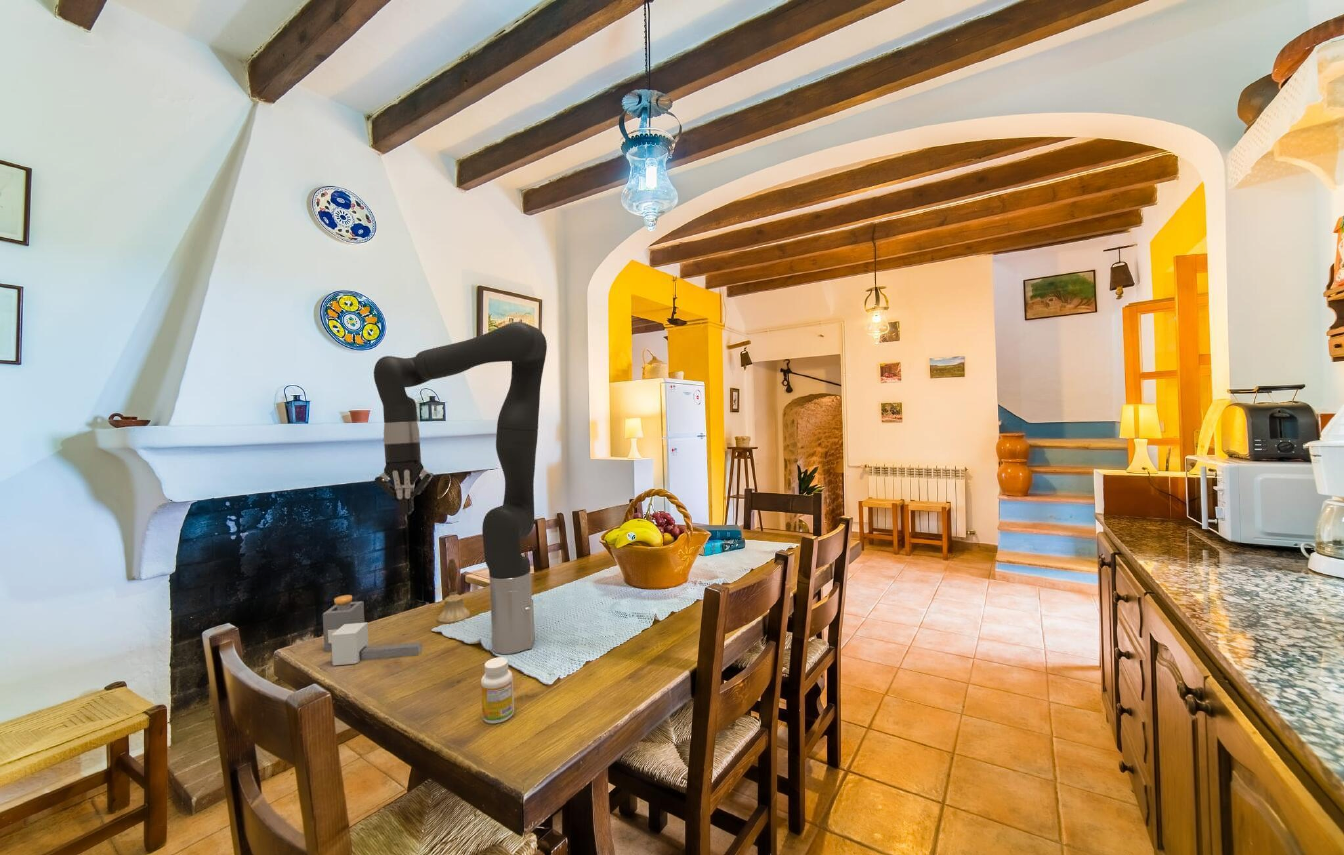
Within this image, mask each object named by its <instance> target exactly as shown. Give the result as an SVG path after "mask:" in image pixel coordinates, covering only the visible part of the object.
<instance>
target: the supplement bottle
mask: <svg viewBox="0 0 1344 855" xmlns="http://www.w3.org/2000/svg"><path fill="white" fill-rule="evenodd" d="M480 688H481V710H482V711H481V712H482V713H481V714H482V720H483V721H484V723H485V722H486V723H488V724H499V723H503V722H506V721H507V720H509V719H511V717H512V716H514V712H515V702H514V701H515V699H514V678H513V673H512V671H511V670H510V669H509V660H508V658H506V657H501V656H500V657H499V656H498V657H494V658H493V657H492V658H491V659H488V660H487V661H485V663H484V675H482V677H481V680H480Z"/></svg>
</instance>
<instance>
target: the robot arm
mask: <svg viewBox="0 0 1344 855" xmlns="http://www.w3.org/2000/svg"><path fill="white" fill-rule="evenodd" d="M547 344H548V343H547V339H546V336H545V335H544V333H543V332H542V331H541V329H539V328H537V327H535V326H533V325H531V324H528V323H526V322H522V321H513V322H510V323H507V324H505V325H502V326H500V327H497V328H495V329H493V330H490V331H488V332H486V333H483V334H481V335H477V336H475V337H473V338H470V339H466V340H461V341H459V342H454V343H451V344H450V343H449V344H446V345H441V346H437V347H433V348H429V349H424V350H421V351H419V352H418V353H417V354H416V355H415V356H412V357H408V358H407V357H406V358H405V357H399V356H394V355H393V356H392V355H385V356H383V357H381V358H379V359H378V360H377V361H376V362H375V365H374V368H373V379H374V380H373V381H374V383H375V386H376V389H377V392H378V395H379V399H380V402H381V404H382V407H383V408H382V410H383V441H382V442H383V443H384V444H383V447H384V460H385V461H384V462H385V465H384V468H383V472H382V473H381V474H380V475H378V476H376V477H375V478H374V481H375V483H376V484H377V485H378V486H379V487H380V488H381V489H382V490H383V491H384V492H385V493H386V494H387V495H388V496H389V497H390V498H395V499H397V500H398V511H399V513H401V515H402V516H405V515H407V516H408V515H411V514H412V513H413V511H414V509H415V505H414V504H415V503H414V498H415V497H416V496H417V495H421V494H422V492H423V491H424V490H425V488H426V486H427V485H428V484H429V483H430V482H431V480H432V479H433V478H434V473H433V472H428V471H427V470H426V469H425V468H424V465H423V463H422V456H421V454H422V452H421V442H420V441H421V440H420V438H421V437H420V428H419V424H418V413H417V412H418V411H417V403H416V400H415V399H414V398H412V397H410V396H408V394H407V391H406V388H411V387H416V386H419V385H420V386H421V385H422V384H424V383H427V382H430V381H431V380H432V381H433V380H438V379H442V378H446V377H451V376H455V375H458V374H461V373H463V372H466V371H468V370H470V369H473V368H474V367H477V366H480V365H485V364H491V363H501V362H502V363H503V362H511V372H510V373H511V378H510V385H509V388H508V391H507V394H506V396H505V399H504V401H503V403H502V406H501V408H500V411H499V414H498V417H497V422H496V423H497V425H496V434H495V435H496V436H495V450H496V454H497V459H498V460H499V463H500V467H501V470H502V472H503V476H504V494H503V495H504V496H503V503H502V505H500V506H496V507H494V508H491V509H490V510H489V511H488V512H487V513H486V514H485V516H484V519H483V521H482V528H481V529H482V530H481V531H482V532H481V533H482V534H481V535H482V543H483V552H484V553H483V554H484V562H485V564H486V567H487V568H488V574H489V576H488V577H489V596H490V598H489V600H490V620H491V622H490V623H491V624H490V625H491V644H492V645H491V646H492V648H491V649H492V651H493V652H495V653H497V654H501V655H502V654H503V655H510V654H516V653H520V651H521V652H522V651H526V650H532V649H533V645H534V641H535V638H536V636H535V635H536V634H535V633H536V632H535V613H534V612H535V610H534V600H533V599H532V597H533V596H532V575H531V561H530V559H529V558H528V557H527V556H524V555H522V549H521V548H522V547H521V541H522V540H524V539H526V538H527V537H528V536H529V535H530V534H531V533H532V530H533V528H534V524H535V494H534V491H535V490H534V487H535V486H534V484H535V483H534V482H535V480H534V479H535V473H536V472H535V470H536V456H537V455H536V454H537V446H538V437H539V436H538V434H539V413H540V405H541V404H540V402H541V401H540V400H541V399H540V398H541V385H542V378H543V373H544V368H545V367H544V366H545V362H546V356H547V352H548V350H547V349H548V348H547V347H548V345H547ZM419 477H420V479H421V480H420V481H419V483H418V484H417V485H416V484H415V483H416V481H418V479H419ZM389 480H390V481H391V482H392V483H393V484H394V486H393V484H391V483H390V482H389ZM415 485H416V487H415ZM531 648H532V649H531Z"/></svg>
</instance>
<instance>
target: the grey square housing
mask: <svg viewBox="0 0 1344 855" xmlns="http://www.w3.org/2000/svg"><path fill="white" fill-rule="evenodd" d="M364 604H365V603H364V601H363V600H361V601H351V602H350V606H351V608H350V609H349V610H338V611H337V604H334V605H333V606H331V607H330V608H329V609H328V610H326V611H325V612H323V613H322V625H323V628H322V629H323V643H324V644H323V645H324V647H323V648H324V653H326V652H332V642H331V635H332V634H333V633H334V632H336V631H337V630H338V629H339V628H341V627H342V626H343V625H344V624H354V623H366V622H365V605H364Z"/></svg>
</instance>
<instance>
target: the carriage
mask: <svg viewBox="0 0 1344 855" xmlns="http://www.w3.org/2000/svg"><path fill="white" fill-rule="evenodd" d="M368 623H369V622H367V621H366V622H365V623H354V624H344V625H343V626H342V627H341V628H339V629H338V630H337V631H336V632H334V633H333V634H332V635H331V642H332V651H331V654H332V655H331V658H332V666H333V667H334V666H341V665H353V664H358V663H359V662H360V661H361V660H360V659H359V651H360V650H361V649H362V648H363V647H370V646H369V645H370V644H369V626H368V625H369V624H368Z"/></svg>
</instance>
